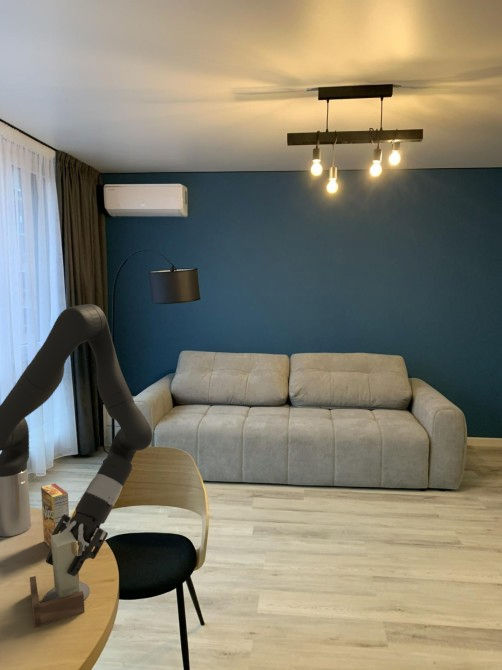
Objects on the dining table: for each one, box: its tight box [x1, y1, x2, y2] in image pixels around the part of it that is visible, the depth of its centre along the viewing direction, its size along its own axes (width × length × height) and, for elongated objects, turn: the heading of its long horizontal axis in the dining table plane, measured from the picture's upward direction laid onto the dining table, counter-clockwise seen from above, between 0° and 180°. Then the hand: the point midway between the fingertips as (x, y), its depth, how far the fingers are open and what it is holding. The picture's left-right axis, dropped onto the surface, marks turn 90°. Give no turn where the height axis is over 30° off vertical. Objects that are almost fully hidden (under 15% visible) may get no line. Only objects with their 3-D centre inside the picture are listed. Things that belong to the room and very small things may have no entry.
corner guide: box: [29, 575, 85, 628], centre depth 106 cm, size 12×10×4 cm
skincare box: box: [50, 531, 80, 598], centre depth 108 cm, size 6×4×12 cm
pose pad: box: [43, 581, 91, 602], centre depth 108 cm, size 10×10×1 cm
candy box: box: [40, 483, 70, 550], centre depth 129 cm, size 9×4×15 cm, turn 43°
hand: (59, 569), depth 106 cm, fingers closed on skincare box, 7 cm apart
